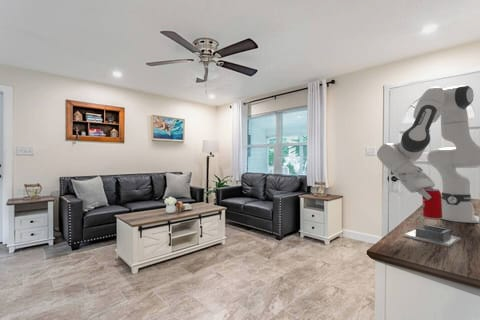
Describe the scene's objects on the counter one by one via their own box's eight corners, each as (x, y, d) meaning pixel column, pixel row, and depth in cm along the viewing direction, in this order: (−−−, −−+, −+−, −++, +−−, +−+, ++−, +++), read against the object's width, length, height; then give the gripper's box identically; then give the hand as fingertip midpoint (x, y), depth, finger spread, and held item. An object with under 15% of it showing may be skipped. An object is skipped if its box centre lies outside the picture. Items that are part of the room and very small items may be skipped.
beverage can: (435, 216, 105) (433, 188, 105) (446, 220, 99) (444, 190, 99) (419, 217, 105) (418, 189, 105) (430, 220, 99) (428, 190, 99)
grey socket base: (417, 230, 112) (417, 222, 112) (460, 239, 100) (460, 230, 100) (404, 236, 104) (404, 227, 104) (448, 247, 92) (448, 236, 92)
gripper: (402, 168, 102) (431, 195, 94) (422, 167, 113) (448, 191, 105) (391, 178, 105) (417, 204, 97) (410, 176, 117) (435, 200, 109)
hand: (433, 197), depth 102 cm, fingers closed on beverage can, 6 cm apart
